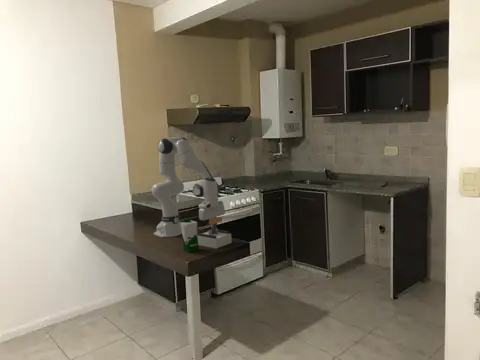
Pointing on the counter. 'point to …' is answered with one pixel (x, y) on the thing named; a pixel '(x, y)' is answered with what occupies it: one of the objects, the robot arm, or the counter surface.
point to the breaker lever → (215, 223)
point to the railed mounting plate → (212, 235)
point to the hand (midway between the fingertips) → (213, 224)
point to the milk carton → (189, 235)
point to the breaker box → (215, 243)
